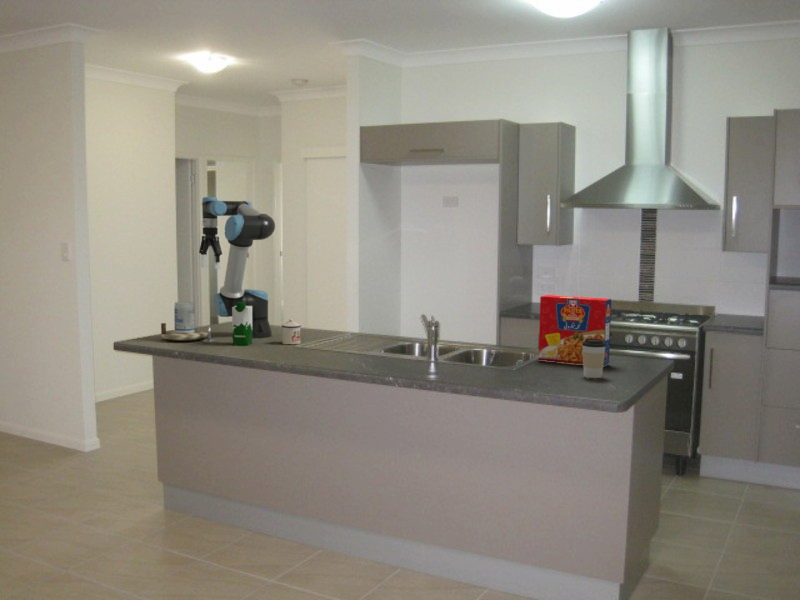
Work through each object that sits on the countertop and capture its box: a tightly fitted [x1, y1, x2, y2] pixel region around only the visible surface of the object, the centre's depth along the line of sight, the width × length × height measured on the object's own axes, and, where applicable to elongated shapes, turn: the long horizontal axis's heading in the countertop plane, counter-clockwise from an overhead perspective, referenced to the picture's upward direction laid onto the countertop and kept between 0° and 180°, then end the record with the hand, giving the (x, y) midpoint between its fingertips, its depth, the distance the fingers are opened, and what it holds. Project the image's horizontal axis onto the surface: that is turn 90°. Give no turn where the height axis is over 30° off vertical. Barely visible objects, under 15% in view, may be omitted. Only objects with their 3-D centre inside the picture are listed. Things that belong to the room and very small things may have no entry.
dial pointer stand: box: [202, 326, 216, 343], centre depth 391 cm, size 5×4×7 cm
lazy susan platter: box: [160, 322, 207, 340], centre depth 396 cm, size 22×22×7 cm
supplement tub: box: [173, 301, 196, 334], centre depth 395 cm, size 10×10×15 cm
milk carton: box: [231, 302, 253, 347], centre depth 384 cm, size 9×9×20 cm
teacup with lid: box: [281, 318, 302, 345], centre depth 389 cm, size 12×9×12 cm
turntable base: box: [169, 339, 200, 343], centre depth 397 cm, size 14×14×2 cm
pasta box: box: [538, 294, 612, 366], centre depth 344 cm, size 28×8×28 cm, turn 60°
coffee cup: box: [582, 339, 606, 378], centre depth 315 cm, size 9×9×15 cm
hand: (210, 267), depth 426 cm, fingers open, 13 cm apart
